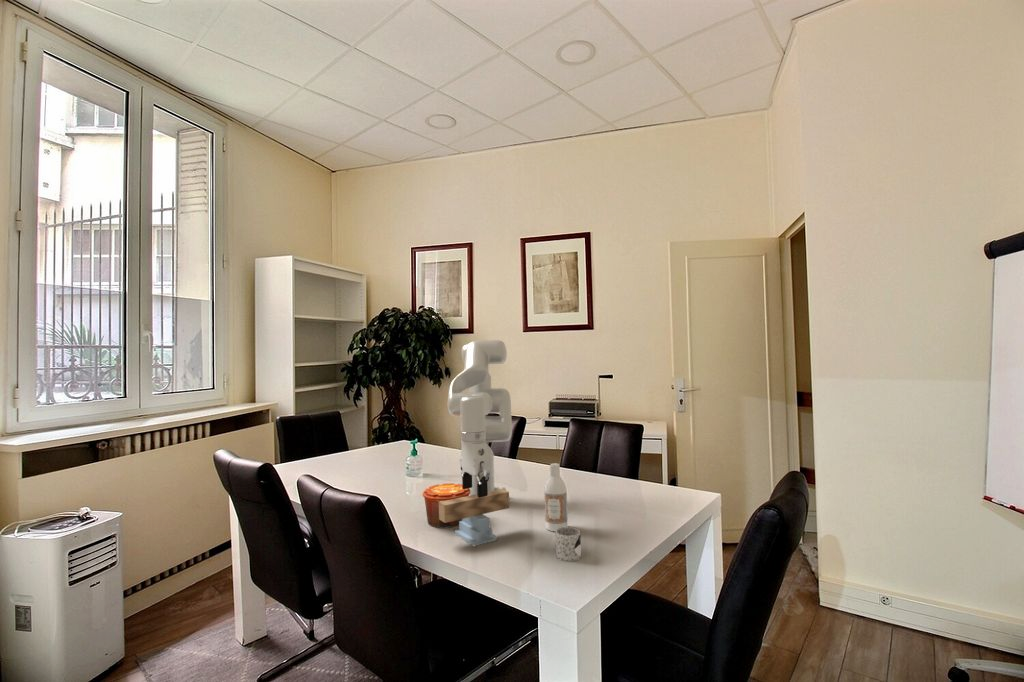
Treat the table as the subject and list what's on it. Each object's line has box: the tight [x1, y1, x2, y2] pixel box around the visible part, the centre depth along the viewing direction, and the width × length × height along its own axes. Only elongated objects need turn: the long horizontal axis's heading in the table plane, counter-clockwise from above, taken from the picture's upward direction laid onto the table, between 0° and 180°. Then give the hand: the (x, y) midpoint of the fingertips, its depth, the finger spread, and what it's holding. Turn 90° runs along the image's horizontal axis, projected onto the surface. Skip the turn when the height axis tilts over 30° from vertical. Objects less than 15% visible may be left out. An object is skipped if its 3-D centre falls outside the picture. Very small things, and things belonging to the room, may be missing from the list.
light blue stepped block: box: [454, 514, 498, 547], centre depth 144 cm, size 8×12×7 cm, turn 33°
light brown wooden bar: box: [439, 489, 510, 523], centre depth 145 cm, size 22×4×5 cm, turn 123°
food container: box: [422, 482, 471, 529], centre depth 159 cm, size 16×16×11 cm
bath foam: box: [544, 462, 569, 533], centre depth 150 cm, size 7×7×20 cm
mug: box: [555, 526, 582, 562], centre depth 131 cm, size 10×7×7 cm
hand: (474, 492), depth 145 cm, fingers open, 9 cm apart
